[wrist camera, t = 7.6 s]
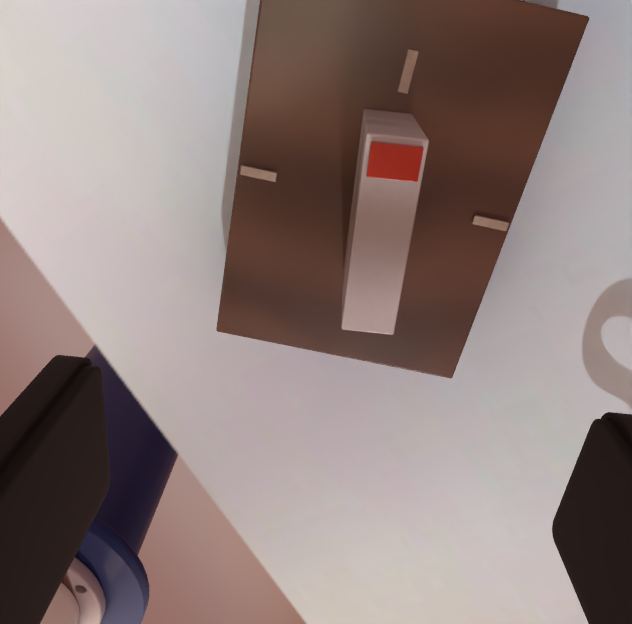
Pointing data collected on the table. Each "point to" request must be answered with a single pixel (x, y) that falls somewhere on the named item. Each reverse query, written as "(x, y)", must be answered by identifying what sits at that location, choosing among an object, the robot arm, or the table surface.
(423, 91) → the tap base
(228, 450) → the table surface
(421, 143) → the tap handle
